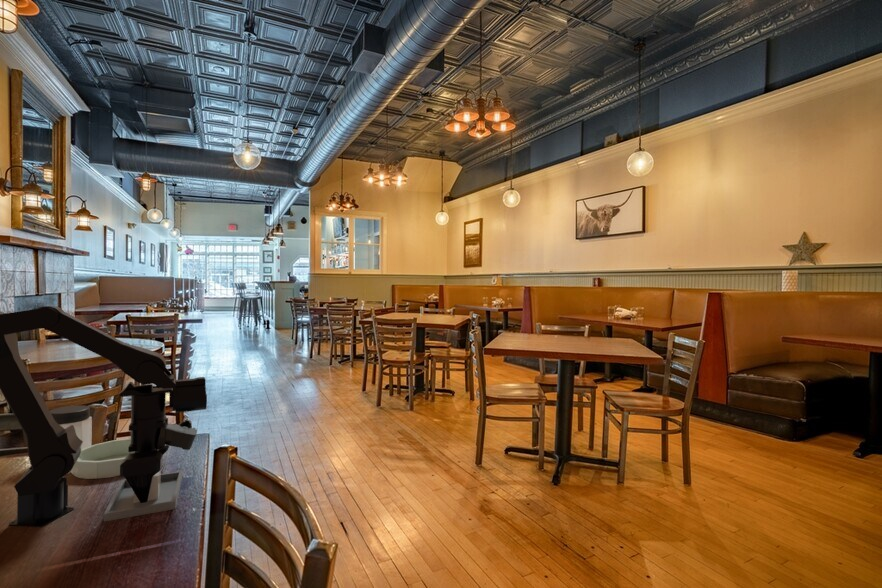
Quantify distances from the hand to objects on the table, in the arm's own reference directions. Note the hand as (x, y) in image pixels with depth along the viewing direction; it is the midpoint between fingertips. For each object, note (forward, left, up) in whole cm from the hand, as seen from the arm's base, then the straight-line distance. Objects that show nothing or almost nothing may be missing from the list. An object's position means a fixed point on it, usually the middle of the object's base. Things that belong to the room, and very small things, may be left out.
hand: (147, 493), depth 87 cm
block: (0, 0, -1) cm, 1 cm away
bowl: (+15, +19, -1) cm, 24 cm away
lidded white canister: (+19, +35, -1) cm, 40 cm away
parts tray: (0, 0, -1) cm, 1 cm away
